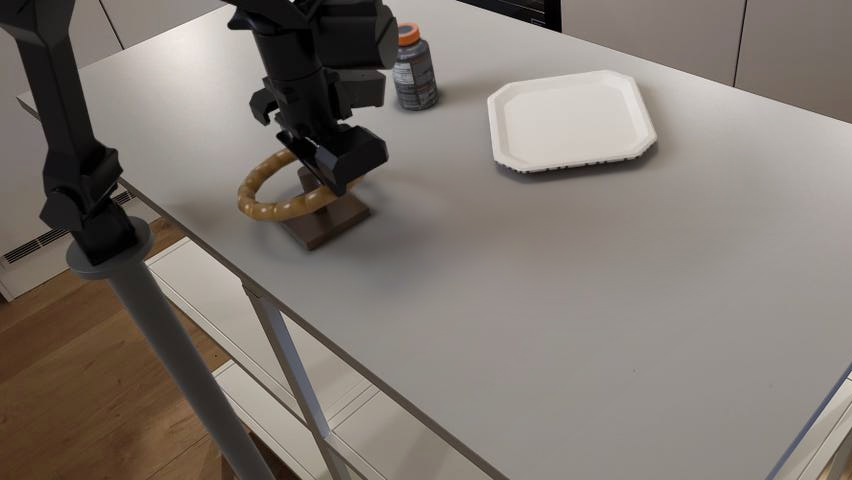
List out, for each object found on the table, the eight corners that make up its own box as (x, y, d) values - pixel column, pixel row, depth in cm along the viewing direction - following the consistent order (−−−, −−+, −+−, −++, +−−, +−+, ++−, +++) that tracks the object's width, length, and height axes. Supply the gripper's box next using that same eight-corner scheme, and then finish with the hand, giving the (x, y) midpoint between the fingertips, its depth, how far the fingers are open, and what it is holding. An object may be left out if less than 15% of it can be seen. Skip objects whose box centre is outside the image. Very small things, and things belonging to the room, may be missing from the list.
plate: (487, 98, 109) (485, 85, 107) (630, 79, 108) (630, 65, 107) (497, 187, 94) (495, 173, 93) (663, 165, 93) (664, 151, 92)
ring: (281, 241, 81) (272, 226, 80) (221, 201, 93) (212, 188, 92) (403, 158, 87) (396, 144, 86) (331, 132, 100) (325, 118, 99)
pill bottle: (432, 85, 113) (419, 13, 105) (443, 104, 109) (430, 32, 101) (394, 95, 113) (378, 24, 105) (403, 115, 108) (387, 43, 100)
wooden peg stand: (308, 251, 90) (290, 205, 85) (273, 217, 95) (254, 172, 90) (370, 214, 93) (357, 168, 88) (333, 184, 99) (318, 138, 94)
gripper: (418, 63, 71) (443, 192, 82) (317, 7, 82) (351, 127, 93) (316, 114, 66) (357, 244, 77) (225, 47, 78) (272, 169, 89)
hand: (335, 190), depth 84 cm, fingers closed on ring, 2 cm apart
